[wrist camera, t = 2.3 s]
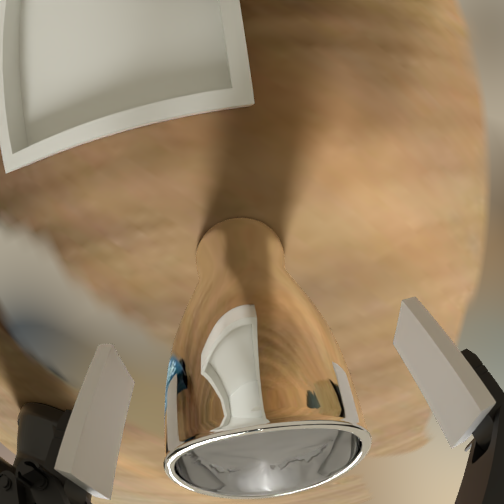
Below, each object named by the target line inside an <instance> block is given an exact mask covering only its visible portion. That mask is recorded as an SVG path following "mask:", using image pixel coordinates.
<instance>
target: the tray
mask: <svg viewBox="0 0 504 504" xmlns="http://www.w3.org/2000/svg"><path fill="white" fill-rule="evenodd" d="M253 104H255V102H254V94H253V87H252V80H251V73H250V66H249V59H248V53H247V46H246V39H245V33H244V26H243V20H242V14H241V7H240V1H239V0H0V147H1V152H2V157H3V162H4V167H5V172H6V173H9V172H11V171H14V170H16V169H19V168H22V167H24V166H27V165H30V164H32V163H35V162H37V161H39V160H42V159H44V158H47V157H49V156H52V155H54V154H57V153H60V152H62V151H65V150H68V149H70V148H73V147H76V146H79V145H82V144H85V143H88V142H91V141H94V140H97V139H100V138H103V137H107V136H110V135H113V134H117V133H120V132H124V131H127V130H131V129H135V128H138V127H142V126H146V125H150V124H154V123H159V122H163V121H167V120H172V119H177V118H182V117H187V116H192V115H197V114H202V113H208V112H214V111H220V110H227V109H234V108H241V107H249V106H251V105H253Z"/></svg>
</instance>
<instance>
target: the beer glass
mask: <svg viewBox="0 0 504 504" xmlns="http://www.w3.org/2000/svg"><path fill="white" fill-rule="evenodd" d="M196 267H197V272H198V276H199V281H198V284H197V286H196V288H195V290H194V292H193V295H192V297H191V299H190V301H189V303H188V305H187V307H186V309H185V312H184V314H183V316H182V319H181V321H180V324H179V327H178V330H177V333H176V335H175V338H174V342H173V346H172V351H171V356H170V361H169V366H168V373H167V382H166V392H165V418H164V419H165V421H164V425H165V427H164V429H165V458H164V463H163V466H164V470H165V472H166V474H167V475H168V477H169V478H170V479H171V480H172V481H174V482H175V483H177V484H178V485H180V486H182V487H184V488H186V489H188V490H191V491H194V492H197V493H200V494H204V495H209V496H214V497H220V498H230V499H260V498H271V497H278V496H284V495H289V494H293V493H297V492H301V491H305V490H308V489H311V488H314V487H317V486H320V485H322V484H325V483H327V482H329V481H331V480H333V479H335V478H337V477H339V476H341V475H343V474H344V473H346V472H348V471H349V470H350V469H352V468H353V467H354V466H356V465H357V464H358V463H359V462H360V461H361V460H362V459H363V458H364V457H365V456H366V455H367V453H368V452H369V450H370V447H371V444H372V438H371V435H370V433H369V431H368V429H367V426H366V423H365V419H364V416H363V413H362V409H361V406H360V403H359V399H358V396H357V393H356V390H355V387H354V384H353V381H352V378H351V375H350V372H349V369H348V367H347V364H346V362H345V359H344V357H343V354H342V352H341V350H340V347H339V345H338V343H337V341H336V339H335V337H334V335H333V333H332V331H331V329H330V328H329V326H328V324H327V322H326V320H325V319H324V317H323V316H322V314H321V313H320V312H319V310H318V309H317V307H316V306H315V305H314V303H313V302H312V300H311V299H310V298H309V297H308V295H307V294H306V293H305V292H304V291H303V290H302V288H301V287H300V286H299V285H298V284H297V283H296V281H295V280H294V279H293V278H292V277H291V276H290V275H289V273H288V272H287V271H286V269H285V259H284V250H283V247H282V244H281V241H280V239H279V237H278V236H277V235H276V233H275V232H274V231H273V230H272V229H271V228H270V227H268V226H267V225H265V224H264V223H262V222H260V221H257V220H255V219H250V218H231V219H227V220H224V221H222V222H220V223H218V224H216V225H214V226H213V227H212V228H210V229H209V230H208V231H207V232H206V233H205V235H204V236H203V237H202V239H201V241H200V243H199V245H198V248H197V252H196Z"/></svg>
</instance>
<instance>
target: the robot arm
mask: <svg viewBox="0 0 504 504" xmlns="http://www.w3.org/2000/svg"><path fill="white" fill-rule="evenodd" d="M393 345H394V346H395V348H396V350H397V351H398V353H399V354H400V356H401V358H402V359H403V361H404V363H405V364H406V366H407V368H408V370H409V371H410V373H411V375H412V376H413V378H414V380H415V382H416V383H417V385H418V387H419V389H420V390H421V392H422V394H423V396H424V397H425V399H426V401H427V403H428V405H429V407H430V408H431V410H432V412H433V414H434V416H435V418H436V420H437V421H438V423H439V425H440V427H441V429H442V431H443V433H444V435H445V437H446V439H447V441H448V443H449V445H450V447H451V448H454V447H455V446H457V445H459V444H461V443H462V442H464V441H466V440H467V439H468V438H469V436H470V435H471V434H473V436H474V439H473V440H472V441H471V442H470V443H469V444H468V445H467V447H466V448H465V451H467V450H468V449H469V448H470V447H471V450H470V454H469V458H468V462H467V466H466V469H465V473H464V476H463V480H462V483H461V486H460V489H459V492H458V495H457V498H456V501H455V504H504V392H503V391H502V389H501V388H500V387H499V385H498V384H497V382H496V381H495V379H494V378H493V377H492V375H491V374H490V373H489V372H488V370H487V369H486V367H485V366H484V365H483V364H482V362H481V361H480V359H479V358H478V357H477V355H475V354H474V353H472V352H471V351H469V350H468V349H465V350H463V351H461V352H460V351H459V349H458V348H457V347H456V345H455V344H454V343H453V341H452V340H451V339H450V338H449V336H448V335H447V334H446V333H445V331H444V330H443V329H442V328H441V326H440V325H439V324H438V323H437V321H436V320H435V319H434V318H433V317H432V315H431V314H430V313H429V312H428V311H427V309H426V308H425V307H424V306H423V305H422V304H421V302H420V301H419V300H418V299H417V298H416V297H412V298H408V299H404V300H402V303H401V308H400V313H399V318H398V323H397V328H396V332H395V336H394V341H393ZM134 383H135V382H134V381H133V379H132V377H131V375H130V374H129V372H128V370H127V369H126V367H125V365H124V363H123V362H122V360H121V358H120V357H119V354H118V353H117V351H116V349H115V347H114V345H113V344H99V345H98V348H97V350H96V352H95V355H94V357H93V360H92V362H91V364H90V366H89V369H88V371H87V374H86V376H85V379H84V382H83V384H82V386H81V389H80V392H79V394H78V397H77V400H76V402H75V405H74V408H73V410H66V411H65V412H63V411H61V410H58V409H56V408H53V407H50V406H47V405H44V404H39V403H26V404H24V405H23V406H22V409H21V411H20V413H19V416H18V436H17V455H16V458H15V461H14V464H13V466H12V465H11V464H9V463H8V462H6V461H5V460H4V459H3V458H1V457H0V504H92V503H91V496H92V495H93V496H95V497H99V498H104V499H109V500H111V495H112V488H113V482H114V476H115V470H116V465H117V459H118V454H119V449H120V444H121V439H122V434H123V430H124V425H125V421H126V416H127V412H128V407H129V403H130V399H131V395H132V391H133V387H134Z"/></svg>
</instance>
